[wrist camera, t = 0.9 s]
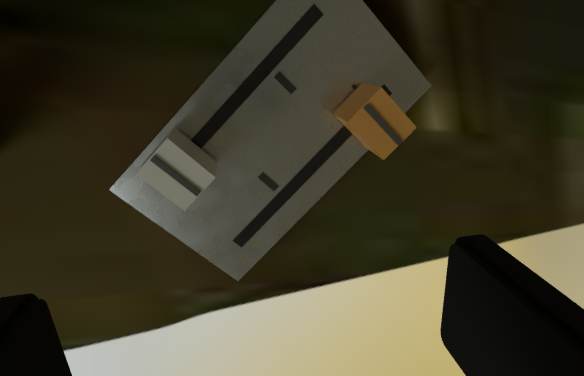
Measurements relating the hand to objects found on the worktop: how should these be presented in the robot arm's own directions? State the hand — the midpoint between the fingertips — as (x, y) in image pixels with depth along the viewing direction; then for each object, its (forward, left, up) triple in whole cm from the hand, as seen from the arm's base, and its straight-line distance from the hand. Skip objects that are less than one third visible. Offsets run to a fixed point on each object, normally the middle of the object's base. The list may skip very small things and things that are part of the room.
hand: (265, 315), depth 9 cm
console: (-2, +2, -24) cm, 24 cm away
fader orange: (-8, +6, -21) cm, 24 cm away
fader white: (+4, -2, -21) cm, 22 cm away
